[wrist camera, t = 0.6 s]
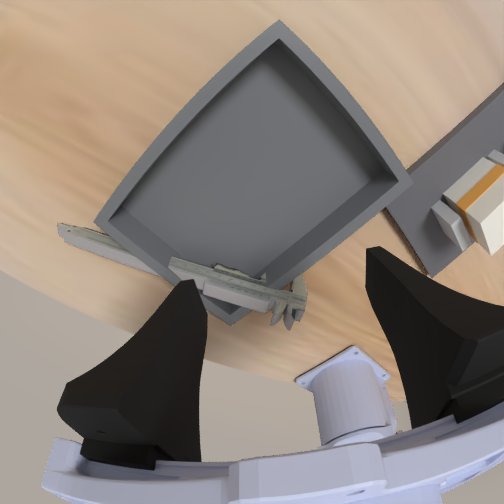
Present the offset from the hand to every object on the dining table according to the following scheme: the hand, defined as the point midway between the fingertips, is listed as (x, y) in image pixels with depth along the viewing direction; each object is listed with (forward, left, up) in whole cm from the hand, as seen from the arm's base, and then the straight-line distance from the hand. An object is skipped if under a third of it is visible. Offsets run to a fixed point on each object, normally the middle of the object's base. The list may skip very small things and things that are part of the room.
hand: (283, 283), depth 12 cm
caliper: (+2, +8, -10) cm, 13 cm away
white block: (-10, -13, -9) cm, 19 cm away
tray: (+2, 0, -10) cm, 10 cm away
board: (-10, -19, -10) cm, 24 cm away
